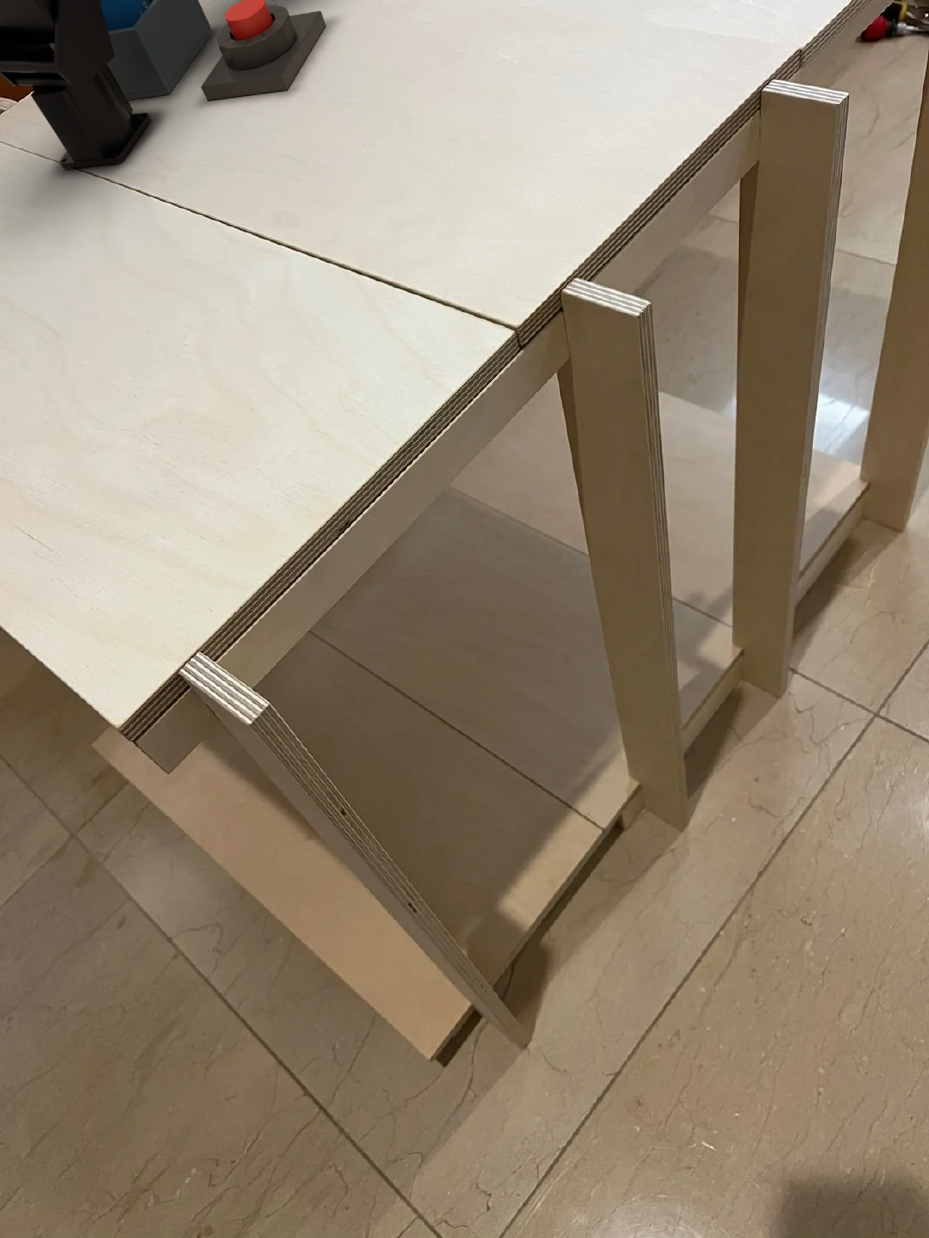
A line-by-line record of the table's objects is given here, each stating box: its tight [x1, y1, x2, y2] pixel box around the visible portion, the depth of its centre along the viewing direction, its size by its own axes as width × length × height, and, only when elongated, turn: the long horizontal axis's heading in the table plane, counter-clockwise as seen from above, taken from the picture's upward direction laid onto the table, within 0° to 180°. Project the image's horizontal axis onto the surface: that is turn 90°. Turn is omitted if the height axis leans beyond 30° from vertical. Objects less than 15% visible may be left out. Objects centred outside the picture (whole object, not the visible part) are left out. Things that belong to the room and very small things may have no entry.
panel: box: [200, 4, 326, 101], centre depth 78 cm, size 10×8×3 cm
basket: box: [50, 0, 214, 101], centre depth 82 cm, size 10×10×6 cm
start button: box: [224, 0, 273, 41], centre depth 76 cm, size 4×4×2 cm
